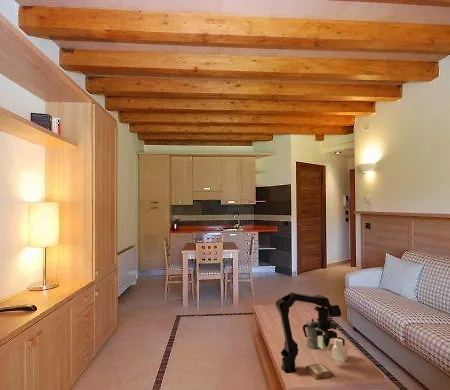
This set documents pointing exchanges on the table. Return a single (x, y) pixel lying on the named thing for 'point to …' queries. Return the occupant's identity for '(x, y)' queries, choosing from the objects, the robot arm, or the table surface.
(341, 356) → the medicine bottle
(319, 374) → the walnut base
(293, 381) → the table surface
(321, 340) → the sage block
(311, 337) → the coffeepot
